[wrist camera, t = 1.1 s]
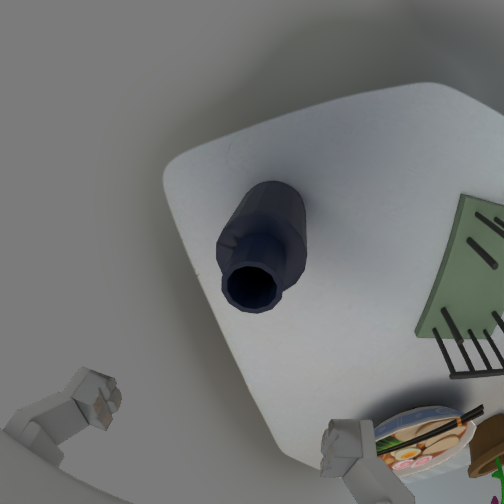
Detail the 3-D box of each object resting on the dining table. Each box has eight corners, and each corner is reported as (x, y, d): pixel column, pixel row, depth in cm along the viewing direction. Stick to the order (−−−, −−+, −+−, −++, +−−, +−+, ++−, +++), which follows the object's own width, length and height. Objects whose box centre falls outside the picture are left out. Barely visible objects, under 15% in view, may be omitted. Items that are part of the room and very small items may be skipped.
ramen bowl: (363, 460, 49) (364, 492, 42) (319, 416, 43) (318, 458, 36) (472, 417, 40) (482, 449, 33) (465, 356, 34) (483, 396, 27)
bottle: (243, 177, 29) (198, 231, 16) (308, 184, 28) (315, 245, 15) (240, 236, 31) (200, 321, 19) (300, 244, 31) (297, 336, 18)
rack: (460, 193, 25) (510, 227, 17) (533, 215, 24) (579, 248, 15) (414, 331, 33) (434, 387, 25) (486, 333, 32) (511, 380, 23)
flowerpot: (448, 444, 45) (465, 555, 18) (493, 406, 39) (526, 527, 12) (482, 443, 45) (501, 538, 19) (521, 408, 39) (553, 508, 12)
